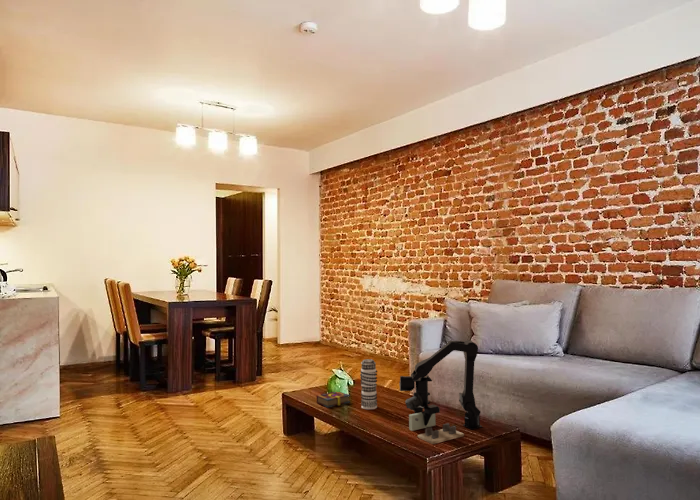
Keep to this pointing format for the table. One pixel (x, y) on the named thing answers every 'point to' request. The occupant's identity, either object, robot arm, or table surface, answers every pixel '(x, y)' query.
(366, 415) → the table surface
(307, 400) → the table surface
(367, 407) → the tower model
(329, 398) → the decorative book
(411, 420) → the door panel
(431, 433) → the hinge base
